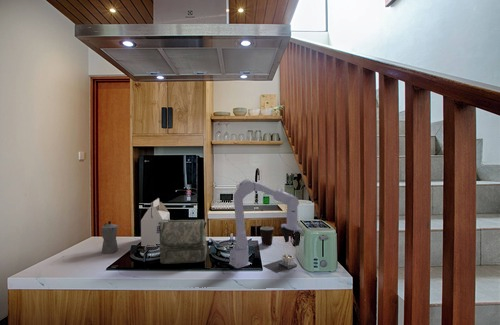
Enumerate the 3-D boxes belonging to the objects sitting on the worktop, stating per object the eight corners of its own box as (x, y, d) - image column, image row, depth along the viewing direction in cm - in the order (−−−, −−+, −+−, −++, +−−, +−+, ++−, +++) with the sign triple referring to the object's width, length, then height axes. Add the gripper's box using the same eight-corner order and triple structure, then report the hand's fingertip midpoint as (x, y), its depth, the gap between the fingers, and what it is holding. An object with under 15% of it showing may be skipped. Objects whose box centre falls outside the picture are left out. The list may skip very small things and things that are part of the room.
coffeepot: (122, 252, 165) (121, 221, 164) (104, 256, 158) (104, 224, 158) (113, 246, 176) (112, 217, 176) (96, 249, 169) (96, 220, 169)
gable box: (150, 237, 194) (149, 197, 194) (169, 237, 196) (169, 197, 195) (141, 248, 172) (140, 202, 172) (163, 247, 174) (162, 202, 173)
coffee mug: (268, 246, 175) (268, 230, 174) (257, 244, 180) (257, 228, 179) (278, 242, 184) (278, 227, 184) (267, 239, 189) (267, 225, 189)
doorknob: (287, 269, 139) (287, 260, 139) (278, 265, 144) (278, 256, 144) (296, 266, 143) (297, 257, 143) (287, 262, 148) (287, 253, 148)
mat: (276, 273, 135) (276, 273, 135) (262, 266, 144) (262, 265, 144) (296, 266, 143) (296, 266, 143) (281, 260, 152) (281, 259, 152)
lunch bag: (154, 265, 145) (154, 223, 144) (163, 253, 163) (162, 216, 162) (205, 264, 147) (205, 222, 146) (208, 252, 165) (208, 215, 164)
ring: (287, 266, 140) (287, 259, 140) (280, 263, 144) (280, 256, 144) (295, 263, 143) (295, 256, 143) (288, 260, 148) (288, 253, 147)
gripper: (307, 219, 146) (307, 245, 146) (287, 214, 157) (287, 239, 158) (298, 221, 141) (298, 248, 142) (278, 216, 153) (278, 241, 153)
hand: (291, 243), depth 149 cm, fingers open, 7 cm apart
